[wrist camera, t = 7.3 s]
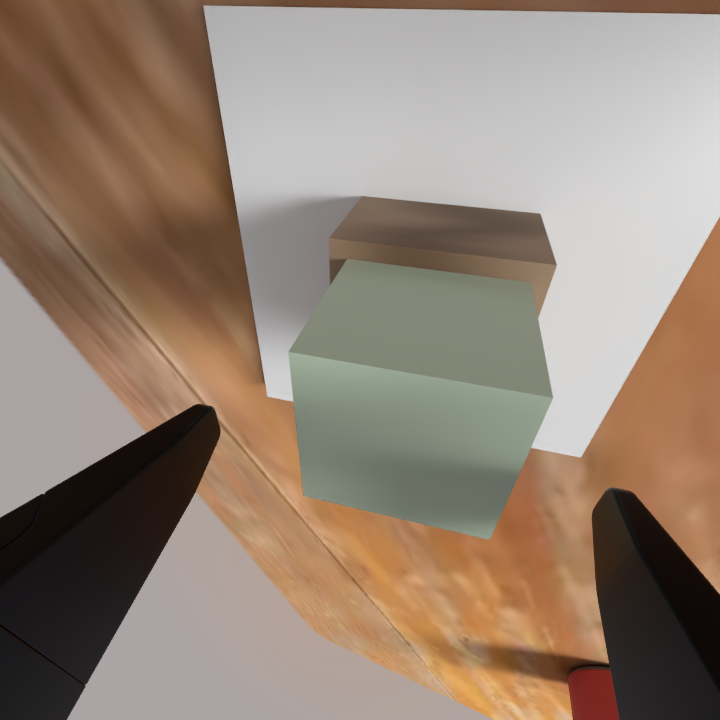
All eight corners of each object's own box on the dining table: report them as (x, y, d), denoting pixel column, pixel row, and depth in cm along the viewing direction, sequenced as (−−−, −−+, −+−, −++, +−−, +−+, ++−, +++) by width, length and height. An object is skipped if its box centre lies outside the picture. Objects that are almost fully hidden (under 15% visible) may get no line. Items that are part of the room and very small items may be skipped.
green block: (531, 282, 11) (553, 397, 7) (488, 415, 14) (489, 540, 10) (346, 259, 11) (287, 351, 8) (346, 388, 15) (303, 496, 11)
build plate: (808, 18, 10) (834, 16, 9) (577, 441, 20) (580, 457, 19) (220, 7, 13) (203, 5, 12) (274, 384, 23) (267, 396, 22)
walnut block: (540, 213, 13) (556, 265, 10) (497, 357, 17) (499, 426, 14) (362, 196, 14) (328, 238, 11) (358, 335, 18) (332, 395, 15)
